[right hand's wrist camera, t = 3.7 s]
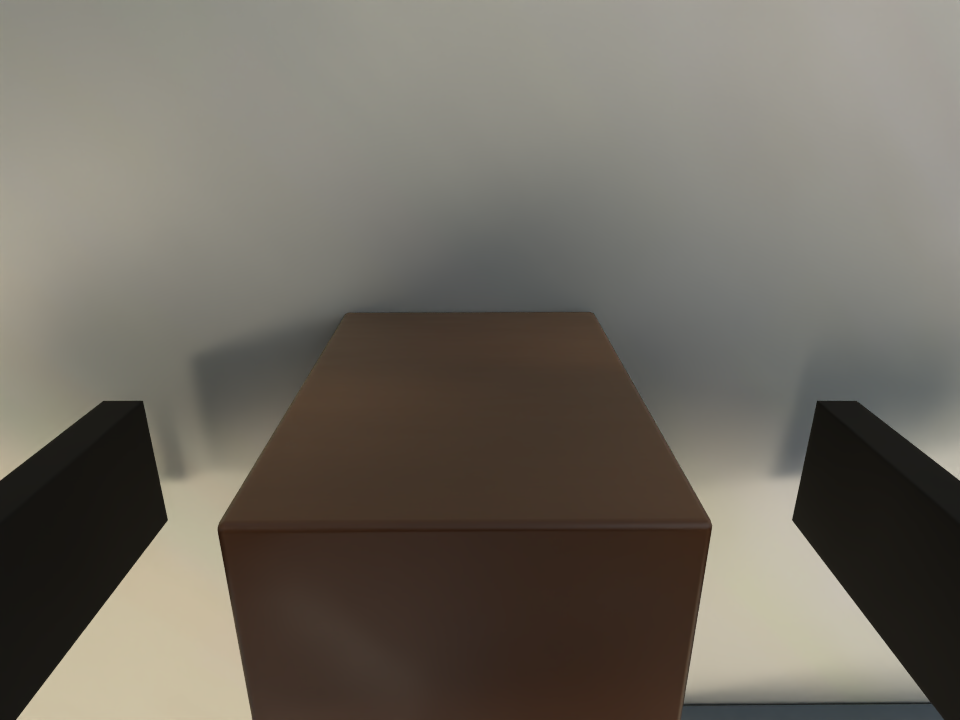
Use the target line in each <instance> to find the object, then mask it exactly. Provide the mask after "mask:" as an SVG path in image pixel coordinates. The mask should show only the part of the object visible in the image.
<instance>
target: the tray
mask: <svg viewBox="0 0 960 720" xmlns="http://www.w3.org/2000/svg"><path fill="white" fill-rule="evenodd" d="M681 720H944V719H943V718H942V716H941V715H940V714H939V712H938V711H937V710H936V708H935V707H934V706H933V705H932V704H830V705H698V706H683V709H682V715H681Z"/></svg>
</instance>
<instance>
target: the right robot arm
mask: <svg viewBox="0 0 960 720" xmlns="http://www.w3.org/2000/svg"><path fill="white" fill-rule="evenodd" d="M167 521H168V519H167V514H166V509H165V504H164V500H163V495H162V490H161V485H160V481H159V476H158V471H157V466H156V461H155V457H154V452H153V447H152V442H151V438H150V433H149V428H148V423H147V419H146V414H145V409H144V404H143V401H103V402H101V403H100V404H99V405H98V406H96V407H95V408H94V409H92V410H91V411H90V412H89V413H87V414H86V415H85V416H83V417H82V418H81V419H79V420H78V421H77V422H76V423H74V424H73V425H72V426H70V427H69V428H68V429H67V430H65V431H64V432H63V433H61V434H60V435H59V436H57V437H56V438H55V439H54V440H52V441H51V442H50V443H48V444H47V445H46V446H45V447H43V448H42V449H41V450H39V451H38V452H37V453H35V454H34V455H33V456H32V457H30V458H29V459H28V460H26V461H25V462H24V463H23V464H21V465H20V466H19V467H17V468H16V469H15V470H13V471H12V472H11V473H10V474H8V475H7V476H6V477H4V478H3V479H2V480H1V481H0V720H16V719H17V718H18V716H19V715H20V714H21V712H22V711H23V710H24V708H25V707H26V706H27V705H28V703H29V702H30V701H31V699H32V698H33V697H34V695H35V694H36V693H37V691H38V690H39V689H40V687H41V686H42V685H43V684H44V682H45V681H46V680H47V678H48V677H49V676H50V674H51V673H52V672H53V670H54V669H55V668H56V666H57V665H58V664H59V662H60V661H61V660H62V659H63V657H64V656H65V655H66V653H67V652H68V651H69V649H70V648H71V647H72V645H73V644H74V643H75V641H76V640H77V639H78V638H79V636H80V635H81V634H82V632H83V631H84V630H85V628H86V627H87V626H88V624H89V623H90V622H91V620H92V619H93V618H94V616H95V615H96V614H97V613H98V611H99V610H100V609H101V607H102V606H103V605H104V603H105V602H106V601H107V599H108V598H109V597H110V595H111V594H112V593H113V592H114V590H115V589H116V588H117V586H118V585H119V584H120V582H121V581H122V580H123V578H124V577H125V576H126V574H127V573H128V572H129V570H130V569H131V568H132V567H133V565H134V564H135V563H136V561H137V560H138V559H139V557H140V556H141V555H142V553H143V552H144V551H145V549H146V548H147V547H148V546H149V544H150V543H151V542H152V540H153V539H154V538H155V536H156V535H157V534H158V532H159V531H160V530H161V528H162V527H163V526H164V524H165V523H166V522H167ZM792 521H793V522H794V523H795V524H796V526H797V527H798V528H799V530H800V531H801V532H802V534H803V535H804V536H805V538H806V539H807V540H808V542H809V543H810V544H811V546H812V547H813V548H814V549H815V551H816V552H817V553H818V555H819V556H820V557H821V559H822V560H823V561H824V563H825V564H826V565H827V567H828V568H829V569H830V570H831V572H832V573H833V574H834V576H835V577H836V578H837V580H838V581H839V582H840V584H841V585H842V586H843V588H844V589H845V590H846V592H847V593H848V594H849V595H850V597H851V598H852V599H853V601H854V602H855V603H856V605H857V606H858V607H859V609H860V610H861V611H862V613H863V614H864V615H865V616H866V618H867V619H868V620H869V622H870V623H871V624H872V626H873V627H874V628H875V630H876V631H877V632H878V634H879V635H880V636H881V638H882V639H883V640H884V641H885V643H886V644H887V645H888V647H889V648H890V649H891V651H892V652H893V653H894V655H895V656H896V657H897V659H898V660H899V661H900V662H901V664H902V665H903V666H904V668H905V669H906V670H907V672H908V673H909V674H910V676H911V677H912V678H913V680H914V681H915V682H916V684H917V685H918V686H919V687H920V689H921V690H922V691H923V693H924V694H925V695H926V697H927V698H928V699H929V701H930V702H931V703H932V705H933V706H934V707H935V708H936V710H937V711H938V712H939V714H940V715H941V716H942V718H943V719H944V720H960V481H959V480H958V479H957V478H956V477H954V476H953V475H952V474H950V473H949V472H948V471H946V470H945V469H944V468H943V467H941V466H940V465H939V464H937V463H936V462H935V461H934V460H932V459H931V458H930V457H928V456H927V455H926V454H925V453H923V452H922V451H921V450H919V449H918V448H917V447H915V446H914V445H913V444H912V443H910V442H909V441H908V440H906V439H905V438H904V437H903V436H901V435H900V434H899V433H897V432H896V431H895V430H893V429H892V428H891V427H890V426H888V425H887V424H886V423H884V422H883V421H882V420H881V419H879V418H878V417H877V416H875V415H874V414H873V413H871V412H870V411H869V410H868V409H866V408H865V407H864V406H862V405H861V404H860V403H859V402H857V401H817V404H816V409H815V414H814V419H813V423H812V428H811V433H810V438H809V442H808V447H807V452H806V457H805V461H804V466H803V471H802V476H801V481H800V485H799V490H798V495H797V500H796V504H795V509H794V514H793V519H792Z"/></svg>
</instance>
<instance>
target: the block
mask: <svg viewBox="0 0 960 720" xmlns="http://www.w3.org/2000/svg"><path fill="white" fill-rule="evenodd" d="M711 530H712V524H711V521H710V518H709V517H708V515H707V513H706V511H705V510H704V508H703V506H702V504H701V503H700V501H699V499H698V497H697V495H696V494H695V492H694V490H693V488H692V487H691V485H690V483H689V481H688V480H687V478H686V476H685V474H684V472H683V471H682V469H681V467H680V465H679V464H678V462H677V460H676V458H675V457H674V455H673V453H672V451H671V449H670V448H669V446H668V444H667V442H666V441H665V439H664V437H663V435H662V434H661V432H660V430H659V428H658V426H657V425H656V423H655V421H654V419H653V418H652V416H651V414H650V412H649V411H648V409H647V407H646V405H645V403H644V402H643V400H642V398H641V396H640V395H639V393H638V391H637V389H636V388H635V386H634V384H633V382H632V380H631V379H630V377H629V375H628V373H627V372H626V370H625V368H624V366H623V364H622V363H621V361H620V359H619V357H618V356H617V354H616V352H615V350H614V349H613V347H612V345H611V343H610V341H609V340H608V338H607V336H606V334H605V333H604V331H603V329H602V327H601V326H600V324H599V322H598V320H597V318H596V317H595V315H594V313H591V312H476V313H347V314H345V316H344V317H343V319H342V321H341V322H340V324H339V326H338V327H337V329H336V331H335V332H334V334H333V336H332V337H331V339H330V340H329V342H328V344H327V345H326V347H325V349H324V350H323V352H322V354H321V355H320V357H319V359H318V360H317V362H316V364H315V365H314V367H313V369H312V370H311V372H310V374H309V375H308V377H307V379H306V380H305V382H304V383H303V385H302V387H301V388H300V390H299V392H298V393H297V395H296V397H295V398H294V400H293V402H292V403H291V405H290V407H289V408H288V410H287V412H286V413H285V415H284V417H283V418H282V420H281V421H280V423H279V425H278V426H277V428H276V430H275V431H274V433H273V435H272V436H271V438H270V440H269V441H268V443H267V445H266V446H265V448H264V450H263V451H262V453H261V455H260V456H259V458H258V459H257V461H256V463H255V464H254V466H253V468H252V469H251V471H250V473H249V474H248V476H247V478H246V479H245V481H244V483H243V484H242V486H241V488H240V489H239V491H238V493H237V494H236V496H235V498H234V499H233V501H232V502H231V504H230V506H229V507H228V509H227V511H226V512H225V514H224V516H223V517H222V519H221V521H220V522H219V525H218V535H219V540H220V546H221V551H222V557H223V562H224V567H225V573H226V578H227V584H228V589H229V595H230V600H231V606H232V611H233V616H234V622H235V627H236V633H237V638H238V644H239V649H240V654H241V660H242V665H243V671H244V676H245V682H246V687H247V692H248V698H249V703H250V709H251V714H252V720H681V715H682V709H683V703H684V696H685V690H686V684H687V678H688V672H689V666H690V660H691V653H692V647H693V641H694V635H695V629H696V623H697V616H698V610H699V604H700V598H701V592H702V586H703V580H704V573H705V567H706V561H707V555H708V549H709V543H710V536H711Z"/></svg>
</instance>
